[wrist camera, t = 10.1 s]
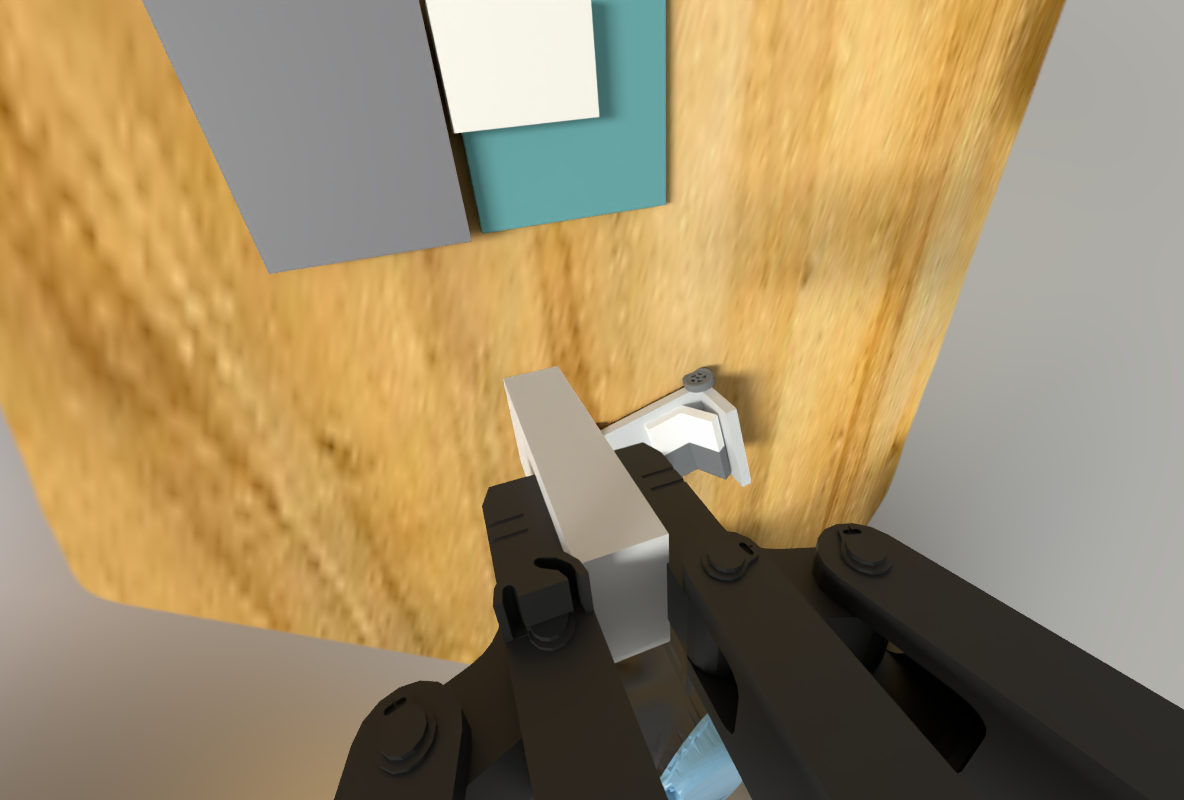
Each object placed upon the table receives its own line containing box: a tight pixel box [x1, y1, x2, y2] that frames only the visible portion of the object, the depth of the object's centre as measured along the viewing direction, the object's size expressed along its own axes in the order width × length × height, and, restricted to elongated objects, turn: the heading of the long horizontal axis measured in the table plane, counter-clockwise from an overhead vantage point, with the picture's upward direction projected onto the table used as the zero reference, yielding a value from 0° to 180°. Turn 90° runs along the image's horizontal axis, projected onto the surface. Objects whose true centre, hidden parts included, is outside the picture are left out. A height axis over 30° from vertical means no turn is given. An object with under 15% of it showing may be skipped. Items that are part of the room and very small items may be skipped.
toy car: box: [600, 368, 751, 487], centre depth 44 cm, size 18×10×12 cm
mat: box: [461, 0, 666, 233], centre depth 29 cm, size 18×14×1 cm
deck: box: [142, 0, 471, 274], centre depth 25 cm, size 18×12×3 cm, turn 5°
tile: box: [425, 0, 599, 133], centre depth 27 cm, size 6×9×2 cm, turn 96°
